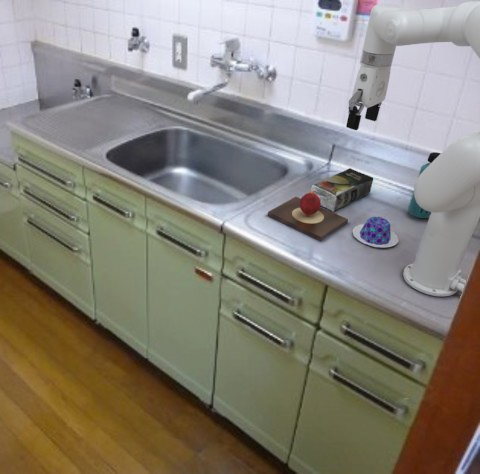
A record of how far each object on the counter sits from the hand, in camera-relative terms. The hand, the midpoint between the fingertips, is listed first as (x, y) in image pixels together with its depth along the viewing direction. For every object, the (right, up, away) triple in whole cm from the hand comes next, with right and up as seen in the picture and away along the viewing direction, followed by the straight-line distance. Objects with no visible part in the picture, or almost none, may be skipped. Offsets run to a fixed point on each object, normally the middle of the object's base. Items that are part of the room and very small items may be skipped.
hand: (361, 124), depth 141 cm
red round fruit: (-11, -24, +12) cm, 29 cm away
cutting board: (-11, -25, +13) cm, 30 cm away
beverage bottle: (+22, -24, +15) cm, 36 cm away
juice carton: (+2, -18, +24) cm, 30 cm away
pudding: (+6, -30, +5) cm, 31 cm away
